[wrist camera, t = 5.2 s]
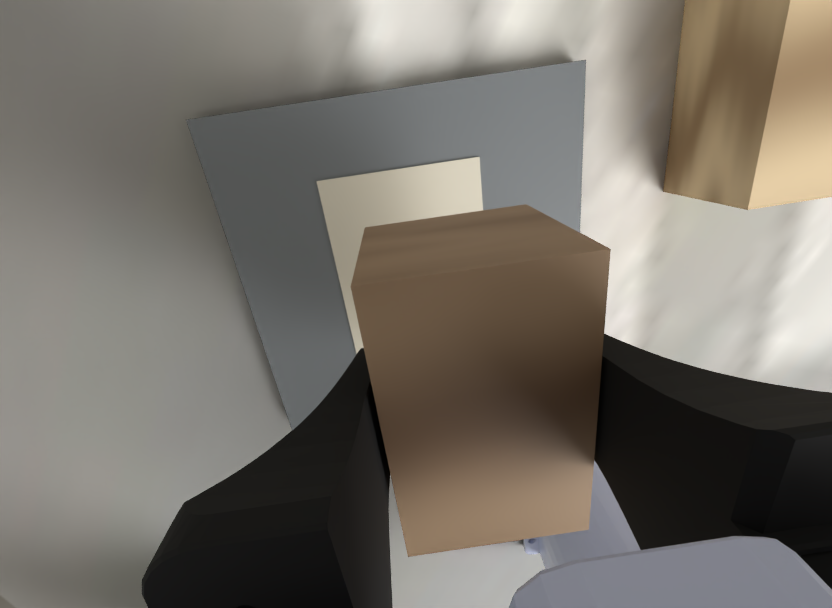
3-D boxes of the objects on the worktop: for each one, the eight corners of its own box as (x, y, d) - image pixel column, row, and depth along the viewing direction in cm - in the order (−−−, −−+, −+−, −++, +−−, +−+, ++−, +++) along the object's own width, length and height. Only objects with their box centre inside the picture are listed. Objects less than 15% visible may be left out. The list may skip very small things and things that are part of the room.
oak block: (762, 175, 19) (880, 189, 15) (661, 191, 19) (747, 210, 14) (806, -31, 16) (975, -96, 11) (684, -12, 16) (804, -70, 11)
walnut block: (529, 410, 15) (588, 529, 11) (402, 429, 15) (407, 556, 11) (526, 204, 12) (610, 248, 7) (364, 227, 12) (350, 286, 7)
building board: (567, 378, 23) (575, 389, 22) (296, 420, 23) (292, 433, 22) (574, 63, 16) (587, 59, 15) (197, 120, 16) (184, 119, 15)
